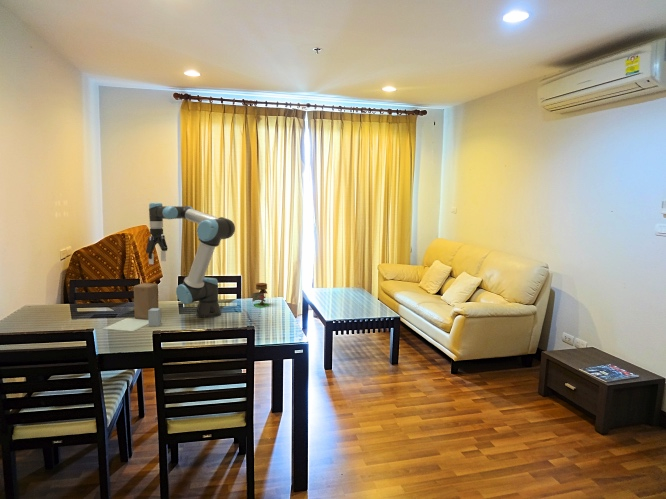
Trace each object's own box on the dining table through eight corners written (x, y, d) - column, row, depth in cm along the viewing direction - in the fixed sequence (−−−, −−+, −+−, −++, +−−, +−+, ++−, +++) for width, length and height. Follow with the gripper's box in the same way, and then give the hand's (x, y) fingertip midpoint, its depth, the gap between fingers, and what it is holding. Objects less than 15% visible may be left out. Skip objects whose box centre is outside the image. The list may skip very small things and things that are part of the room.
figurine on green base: (274, 304, 288) (274, 283, 287) (263, 308, 277) (264, 286, 275) (259, 302, 293) (259, 281, 291) (249, 306, 282) (249, 284, 280)
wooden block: (149, 320, 244) (148, 286, 242) (133, 319, 246) (132, 285, 244) (159, 315, 254) (158, 283, 252) (144, 314, 256) (143, 282, 254)
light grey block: (161, 323, 239) (160, 308, 238) (157, 326, 234) (157, 310, 233) (152, 323, 239) (152, 308, 238) (148, 326, 234) (148, 310, 233)
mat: (154, 321, 243) (154, 320, 243) (132, 331, 223) (132, 330, 223) (126, 319, 246) (126, 318, 246) (102, 329, 226) (102, 328, 226)
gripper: (161, 226, 269) (162, 259, 271) (138, 229, 245) (139, 265, 247) (172, 227, 268) (173, 260, 270) (150, 229, 244) (151, 265, 246)
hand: (157, 262), depth 259 cm, fingers open, 12 cm apart
